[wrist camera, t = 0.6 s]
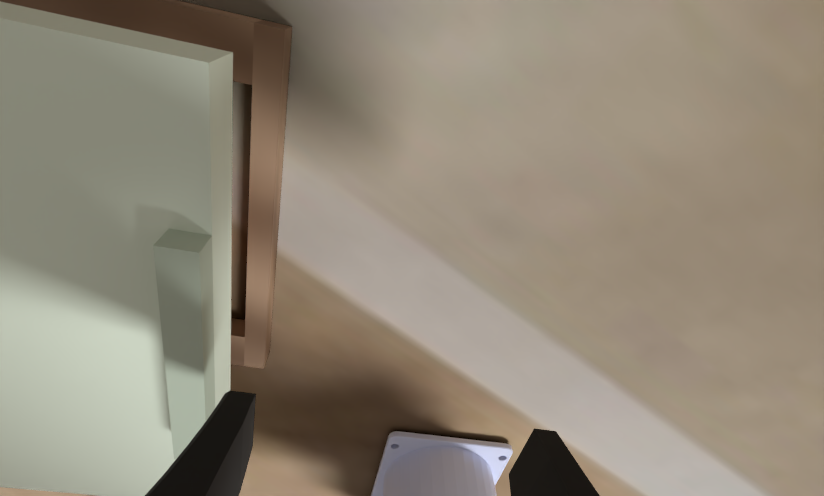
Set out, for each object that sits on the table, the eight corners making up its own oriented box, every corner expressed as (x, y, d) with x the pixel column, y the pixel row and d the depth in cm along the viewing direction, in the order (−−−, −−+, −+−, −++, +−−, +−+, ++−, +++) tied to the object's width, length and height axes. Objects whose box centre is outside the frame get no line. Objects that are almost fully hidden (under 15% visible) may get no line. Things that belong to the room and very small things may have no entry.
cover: (229, 468, 18) (209, 527, 16) (-44, 441, 17) (-103, 503, 15) (232, 52, 10) (192, 70, 8) (-292, -63, 9) (-495, -76, 7)
